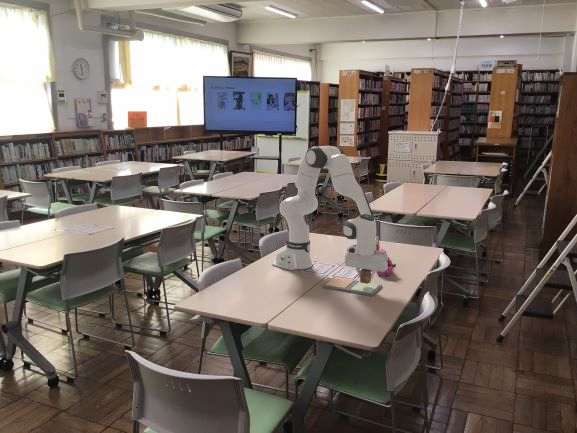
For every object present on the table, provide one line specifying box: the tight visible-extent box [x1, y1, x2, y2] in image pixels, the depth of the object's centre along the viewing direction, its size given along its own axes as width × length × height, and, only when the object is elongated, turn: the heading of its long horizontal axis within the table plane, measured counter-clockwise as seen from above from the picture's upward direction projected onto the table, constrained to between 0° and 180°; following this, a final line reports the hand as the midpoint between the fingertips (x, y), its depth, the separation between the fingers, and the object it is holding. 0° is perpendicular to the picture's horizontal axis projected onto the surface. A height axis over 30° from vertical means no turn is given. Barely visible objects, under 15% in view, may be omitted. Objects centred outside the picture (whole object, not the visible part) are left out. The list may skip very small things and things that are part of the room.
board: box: [322, 276, 383, 297], centre depth 234 cm, size 25×14×1 cm, turn 61°
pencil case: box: [376, 248, 397, 277], centre depth 258 cm, size 21×10×10 cm, turn 1°
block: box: [359, 268, 372, 284], centre depth 229 cm, size 4×4×6 cm
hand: (365, 277), depth 229 cm, fingers closed on block, 4 cm apart
